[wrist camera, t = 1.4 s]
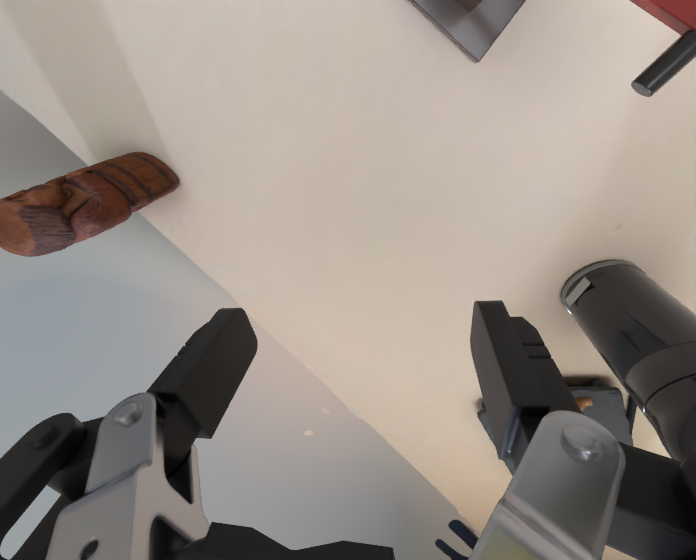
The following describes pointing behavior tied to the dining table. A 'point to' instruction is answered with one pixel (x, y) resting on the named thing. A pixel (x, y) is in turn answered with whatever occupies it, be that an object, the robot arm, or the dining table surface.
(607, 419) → the serving tray
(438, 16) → the rod stand
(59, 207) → the wooden figurine
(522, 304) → the dining table surface
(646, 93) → the lever handle
